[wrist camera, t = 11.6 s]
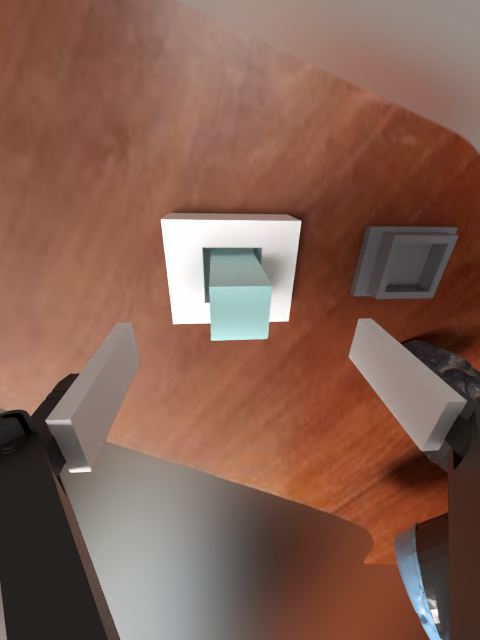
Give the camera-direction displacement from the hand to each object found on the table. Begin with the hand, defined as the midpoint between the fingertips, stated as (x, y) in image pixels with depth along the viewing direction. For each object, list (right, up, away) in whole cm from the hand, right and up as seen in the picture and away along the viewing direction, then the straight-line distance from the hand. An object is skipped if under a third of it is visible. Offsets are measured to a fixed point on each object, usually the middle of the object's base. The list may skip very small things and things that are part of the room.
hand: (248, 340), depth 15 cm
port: (-2, +8, +13) cm, 16 cm away
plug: (-2, +7, +13) cm, 15 cm away
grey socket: (+18, +8, +15) cm, 25 cm away
